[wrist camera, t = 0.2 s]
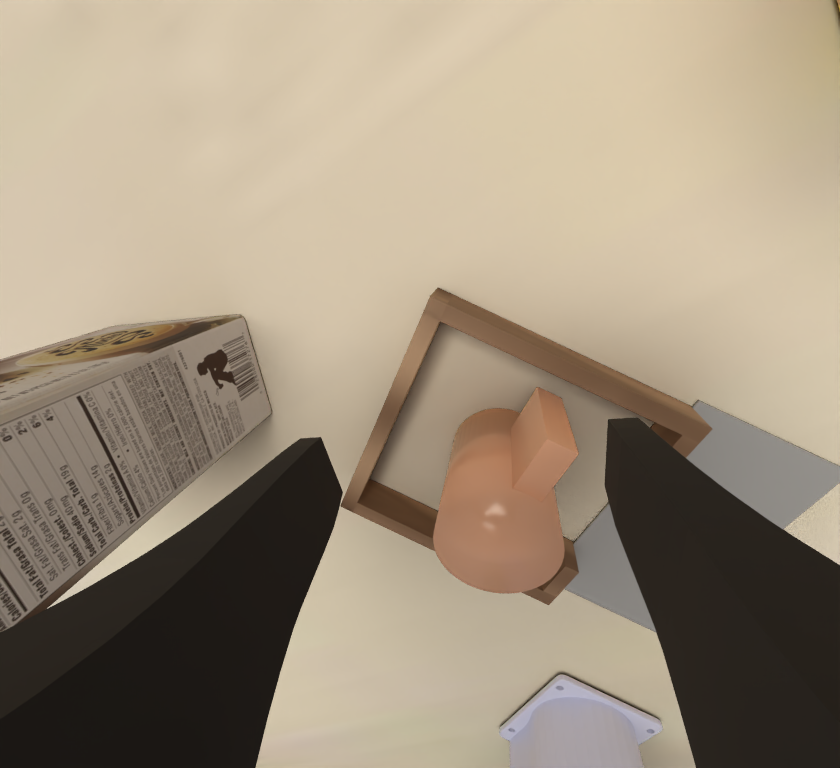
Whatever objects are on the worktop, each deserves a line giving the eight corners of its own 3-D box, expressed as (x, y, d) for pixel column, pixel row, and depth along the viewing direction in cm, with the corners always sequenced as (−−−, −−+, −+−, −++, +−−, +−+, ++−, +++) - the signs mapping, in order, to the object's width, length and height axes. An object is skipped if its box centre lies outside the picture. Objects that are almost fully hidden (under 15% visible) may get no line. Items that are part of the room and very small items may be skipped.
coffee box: (153, 418, 26) (-305, 688, 11) (112, 323, 23) (-544, 507, 9) (277, 416, 23) (-89, 743, 9) (245, 310, 21) (-324, 526, 7)
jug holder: (545, 573, 24) (548, 605, 22) (353, 482, 24) (340, 506, 22) (690, 405, 18) (712, 428, 16) (438, 287, 19) (430, 296, 17)
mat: (656, 631, 24) (657, 632, 24) (543, 577, 24) (543, 579, 24) (850, 471, 18) (852, 472, 18) (698, 400, 18) (699, 400, 18)
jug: (517, 499, 22) (523, 610, 16) (439, 462, 23) (414, 559, 16) (591, 397, 19) (633, 486, 13) (499, 354, 19) (497, 422, 13)
